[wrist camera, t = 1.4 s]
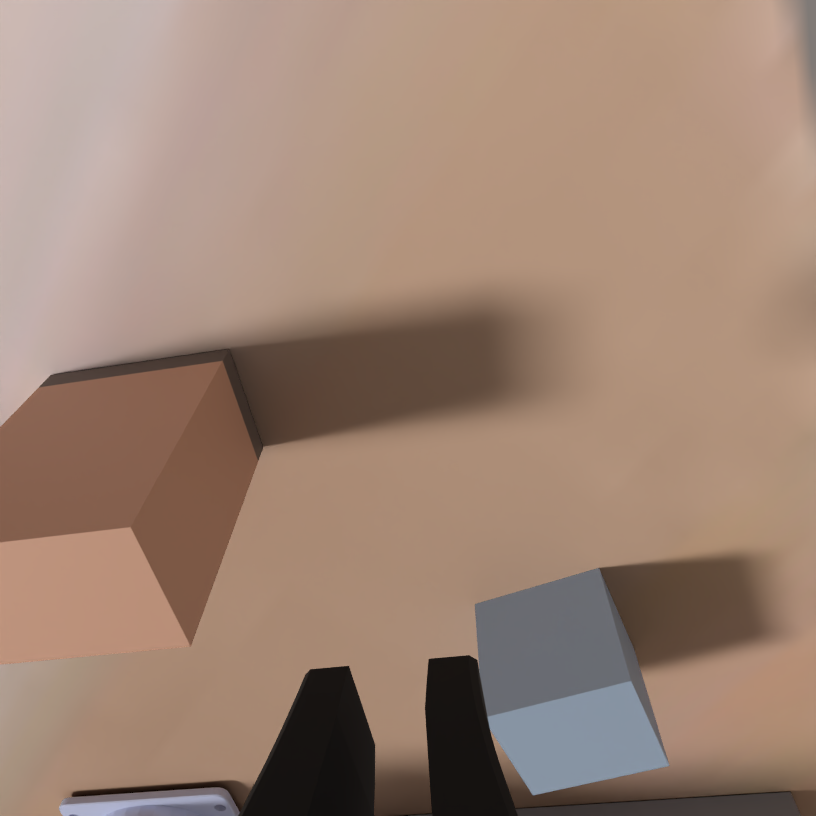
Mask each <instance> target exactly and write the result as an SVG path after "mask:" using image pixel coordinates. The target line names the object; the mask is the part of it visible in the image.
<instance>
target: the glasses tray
mask: <svg viewBox="0 0 816 816" xmlns="http://www.w3.org/2000/svg"><path fill="white" fill-rule="evenodd" d="M516 812H517V815H518V816H801V814H800V812H799V810H798V808H797V805H796V803H795V801H794V799H793V796H792V794H791V792H781V793H765V794H749V795H733V796H717V797H700V798H684V799H668V800H652V801H636V802H620V803H604V804H588V805H572V806H555V807H539V808H523V809H516ZM410 816H432V814H426V815H410Z"/></svg>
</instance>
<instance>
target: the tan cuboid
mask: <svg viewBox="0 0 816 816" xmlns="http://www.w3.org/2000/svg"><path fill="white" fill-rule="evenodd" d="M262 449H263V446H262V443H261V440H260V437H259V434H258V431H257V429H256V426H255V423H254V420H253V417H252V414H251V411H250V408H249V405H248V402H247V400H246V397H245V394H244V391H243V388H242V385H241V382H240V379H239V376H238V374H237V371H236V368H235V365H234V362H233V359H232V356H231V353H230V350H229V349H226V350H220V351H213V352H206V353H199V354H192V355H185V356H179V357H172V358H165V359H158V360H151V361H144V362H138V363H131V364H124V365H117V366H110V367H103V368H97V369H90V370H83V371H76V372H69V373H63V374H56V375H50V376H49V377H48V379H47V380H46V381H45V382H44V383H43V384H42V385H41V386H40V387H39V388H38V389H37V390H36V391H35V392H34V393H33V394H32V395H31V396H30V397H29V398H28V399H27V400H26V401H25V402H24V403H23V404H22V405H21V406H20V407H19V408H18V410H17V411H16V412H15V413H14V414H13V415H12V416H11V417H10V418H9V419H8V420H7V421H6V422H5V423H4V424H3V425H2V426H1V427H0V664H11V663H21V662H32V661H42V660H53V659H64V658H74V657H85V656H95V655H106V654H117V653H127V652H138V651H148V650H159V649H170V648H180V647H191V644H192V641H193V639H194V636H195V633H196V630H197V628H198V625H199V622H200V619H201V617H202V614H203V611H204V608H205V606H206V603H207V600H208V597H209V595H210V592H211V589H212V586H213V584H214V581H215V578H216V575H217V573H218V570H219V567H220V564H221V562H222V559H223V556H224V554H225V551H226V548H227V545H228V543H229V540H230V537H231V534H232V532H233V529H234V526H235V523H236V521H237V518H238V515H239V512H240V510H241V507H242V504H243V501H244V499H245V496H246V493H247V490H248V488H249V485H250V482H251V479H252V477H253V474H254V471H255V468H256V466H257V463H258V460H259V457H260V455H261V452H262Z"/></svg>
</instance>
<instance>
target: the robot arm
mask: <svg viewBox="0 0 816 816" xmlns="http://www.w3.org/2000/svg"><path fill="white" fill-rule="evenodd" d="M425 714H426V729H427V745H428V760H429V774H430V789H431V804H432V816H518V815H517V812H516V809H515V806H514V803H513V801H512V798H511V795H510V792H509V789H508V786H507V784H506V781H505V778H504V775H503V772H502V769H501V767H500V763H499V760H498V757H497V754H496V751H495V747H494V744H493V740H492V737H491V733H490V727H489V722H488V716H487V711H486V706H485V700H484V695H483V689H482V684H481V678H480V673H479V668H478V662H477V660H476V659H474V658H473V657H471V656H469V655H468V656H457V657H445V658H434V659H429V663H428V674H427V687H426V703H425ZM374 791H375V743H374V740H373V737H372V734H371V731H370V728H369V725H368V722H367V719H366V716H365V713H364V710H363V707H362V704H361V701H360V698H359V695H358V692H357V689H356V686H355V683H354V680H353V677H352V674H351V671H350V668H349V666H344V667H332V668H321V669H311V670H310V671H309V672H308V673H307V674H306V675H305V677H304V679H303V682H302V684H301V686H300V689H299V691H298V693H297V696H296V698H295V700H294V703H293V705H292V707H291V709H290V712H289V714H288V716H287V718H286V720H285V723H284V725H283V727H282V729H281V731H280V733H279V736H278V738H277V740H276V742H275V744H274V746H273V748H272V750H271V752H270V754H269V756H268V759H267V761H266V763H265V765H264V767H263V769H262V771H261V773H260V774H259V776H258V778H257V780H256V782H255V784H254V786H253V788H252V790H251V792H250V794H249V796H248V798H247V800H246V802H245V804H244V806H243V808H242V809H241V811H240V812H239V810H238V808H237V806H236V805H235V803H234V801H233V799H232V797H231V795H230V794H229V792H228V791H227V790H226V789H224V788H220V787H211V788H196V789H182V790H168V791H153V792H139V793H124V794H110V795H95V796H81V797H68V798H65V799H63V800H62V803H61V805H60V807H59V810H60V812H61V813H62V815H63V816H374Z"/></svg>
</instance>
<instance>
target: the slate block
mask: <svg viewBox="0 0 816 816" xmlns="http://www.w3.org/2000/svg"><path fill="white" fill-rule="evenodd" d="M475 613H476V628H477V642H478V657H479V671H480V678H481V684H482V689H483V695H484V700H485V706H486V711H487V716H488V722H489V727H490V730H491V731H492V733H493V735H494V736H495V738H496V739H497V741H498V742H499V744H500V745H501V747H502V748H503V750H504V751H505V753H506V755H507V756H508V758H509V759H510V761H511V762H512V764H513V765H514V767H515V768H516V770H517V771H518V773H519V775H520V776H521V778H522V779H523V781H524V782H525V784H526V785H527V787H528V788H529V790H530V792H531V793H532V795H537V794H542V793H546V792H551V791H556V790H560V789H565V788H570V787H574V786H579V785H583V784H588V783H593V782H597V781H602V780H607V779H611V778H616V777H620V776H625V775H630V774H634V773H639V772H644V771H648V770H653V769H657V768H662V767H667V766H669V763H668V759H667V756H666V753H665V750H664V746H663V743H662V740H661V736H660V733H659V730H658V726H657V723H656V720H655V716H654V713H653V710H652V706H651V703H650V700H649V697H648V693H647V690H646V687H645V683H644V680H643V677H642V673H641V670H640V667H639V663H638V660H637V657H636V653H635V650H634V648H633V645H632V643H631V641H630V639H629V636H628V634H627V632H626V629H625V627H624V625H623V622H622V620H621V618H620V615H619V613H618V611H617V608H616V606H615V604H614V602H613V599H612V597H611V595H610V592H609V590H608V588H607V585H606V583H605V581H604V578H603V576H602V574H601V572H600V569H599V568H597V569H594V570H590V571H587V572H583V573H580V574H576V575H573V576H570V577H566V578H563V579H559V580H556V581H552V582H549V583H546V584H542V585H539V586H535V587H532V588H529V589H525V590H522V591H518V592H515V593H511V594H508V595H505V596H501V597H498V598H494V599H491V600H487V601H484V602H481V603H477V604H475Z"/></svg>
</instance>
